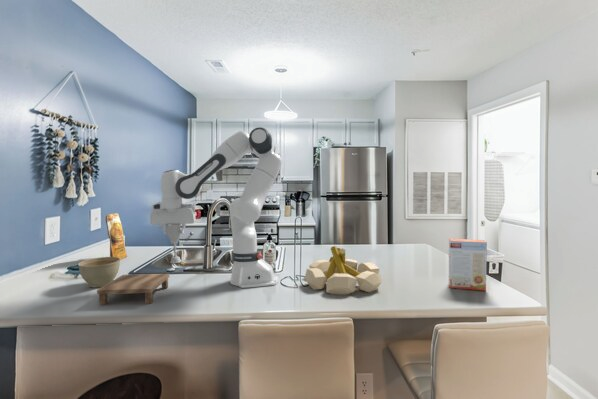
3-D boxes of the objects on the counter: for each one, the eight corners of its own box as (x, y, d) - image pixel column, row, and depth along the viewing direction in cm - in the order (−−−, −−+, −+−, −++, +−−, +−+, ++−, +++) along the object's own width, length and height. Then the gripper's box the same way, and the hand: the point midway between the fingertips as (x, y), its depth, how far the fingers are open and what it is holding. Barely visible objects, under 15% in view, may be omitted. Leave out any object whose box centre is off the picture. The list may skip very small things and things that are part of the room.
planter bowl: (75, 284, 146) (74, 261, 145) (114, 276, 157) (113, 255, 157) (85, 293, 135) (83, 267, 134) (126, 284, 146) (125, 260, 146)
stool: (169, 286, 142) (169, 273, 142) (151, 304, 122) (150, 288, 122) (123, 288, 141) (122, 274, 140) (97, 305, 121) (96, 290, 120)
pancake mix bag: (102, 263, 184) (100, 215, 182) (119, 255, 203) (117, 211, 202) (115, 262, 185) (112, 214, 183) (130, 255, 204) (128, 211, 202)
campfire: (310, 271, 166) (310, 238, 165) (376, 273, 161) (377, 240, 160) (301, 295, 131) (301, 254, 130) (385, 298, 127) (386, 256, 126)
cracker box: (483, 287, 139) (484, 239, 138) (486, 291, 133) (487, 242, 132) (447, 283, 143) (448, 237, 142) (449, 288, 138) (450, 240, 136)
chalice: (178, 263, 147) (175, 225, 146) (164, 263, 148) (162, 225, 147) (186, 259, 154) (184, 223, 153) (173, 259, 156) (171, 223, 154)
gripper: (196, 203, 153) (198, 231, 154) (153, 204, 152) (154, 233, 153) (193, 204, 147) (194, 233, 148) (147, 205, 146) (149, 235, 147)
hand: (174, 233), depth 151 cm, fingers closed on chalice, 6 cm apart
